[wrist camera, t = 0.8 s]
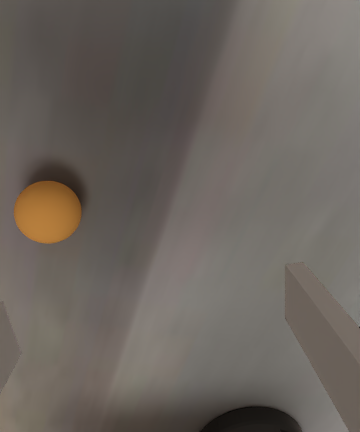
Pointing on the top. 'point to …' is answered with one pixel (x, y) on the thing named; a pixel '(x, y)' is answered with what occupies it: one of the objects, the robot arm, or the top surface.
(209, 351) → the top surface
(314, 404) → the top surface
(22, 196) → the ball
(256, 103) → the top surface
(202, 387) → the top surface
